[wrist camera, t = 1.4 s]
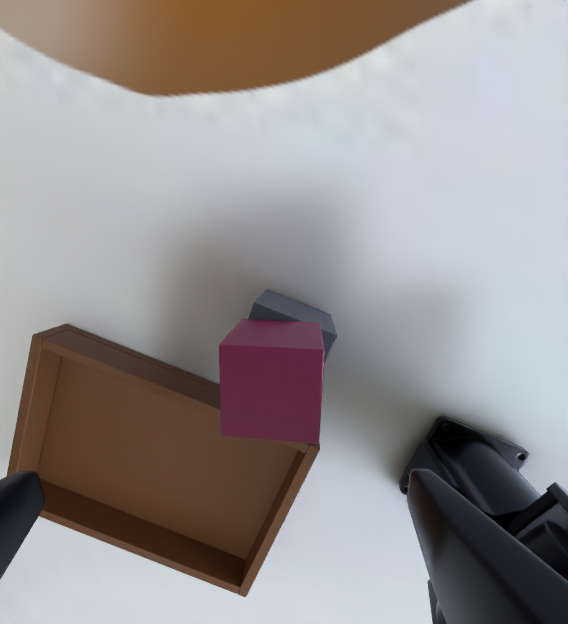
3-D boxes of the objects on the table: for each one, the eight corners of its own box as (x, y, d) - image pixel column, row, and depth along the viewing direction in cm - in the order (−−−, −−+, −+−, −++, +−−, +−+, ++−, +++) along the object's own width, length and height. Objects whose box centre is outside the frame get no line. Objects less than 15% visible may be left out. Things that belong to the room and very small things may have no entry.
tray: (318, 424, 21) (320, 449, 18) (252, 561, 24) (245, 597, 22) (65, 323, 21) (31, 334, 18) (33, 474, 24) (1, 501, 22)
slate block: (330, 314, 19) (337, 335, 15) (304, 373, 20) (303, 408, 16) (266, 288, 19) (254, 302, 15) (243, 349, 20) (225, 377, 16)
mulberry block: (320, 322, 15) (324, 350, 11) (316, 394, 16) (319, 444, 12) (241, 318, 15) (218, 344, 11) (242, 390, 16) (220, 437, 12)
